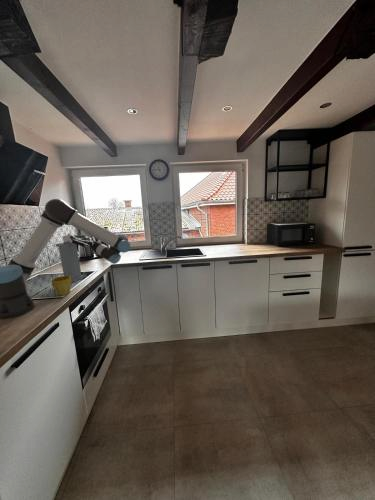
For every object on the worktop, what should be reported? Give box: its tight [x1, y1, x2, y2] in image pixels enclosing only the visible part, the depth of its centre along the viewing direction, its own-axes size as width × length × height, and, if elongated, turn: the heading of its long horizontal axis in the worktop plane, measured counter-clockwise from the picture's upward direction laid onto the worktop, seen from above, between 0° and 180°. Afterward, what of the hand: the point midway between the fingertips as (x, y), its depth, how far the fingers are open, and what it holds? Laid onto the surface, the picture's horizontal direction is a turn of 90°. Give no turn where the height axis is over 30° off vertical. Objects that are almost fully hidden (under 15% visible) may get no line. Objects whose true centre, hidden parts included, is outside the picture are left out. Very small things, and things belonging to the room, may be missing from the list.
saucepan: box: [62, 234, 86, 244], centre depth 141 cm, size 17×9×5 cm, turn 71°
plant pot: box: [50, 275, 73, 296], centre depth 123 cm, size 10×10×10 cm
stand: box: [55, 241, 85, 283], centre depth 147 cm, size 10×10×28 cm
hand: (76, 233), depth 140 cm, fingers open, 13 cm apart
